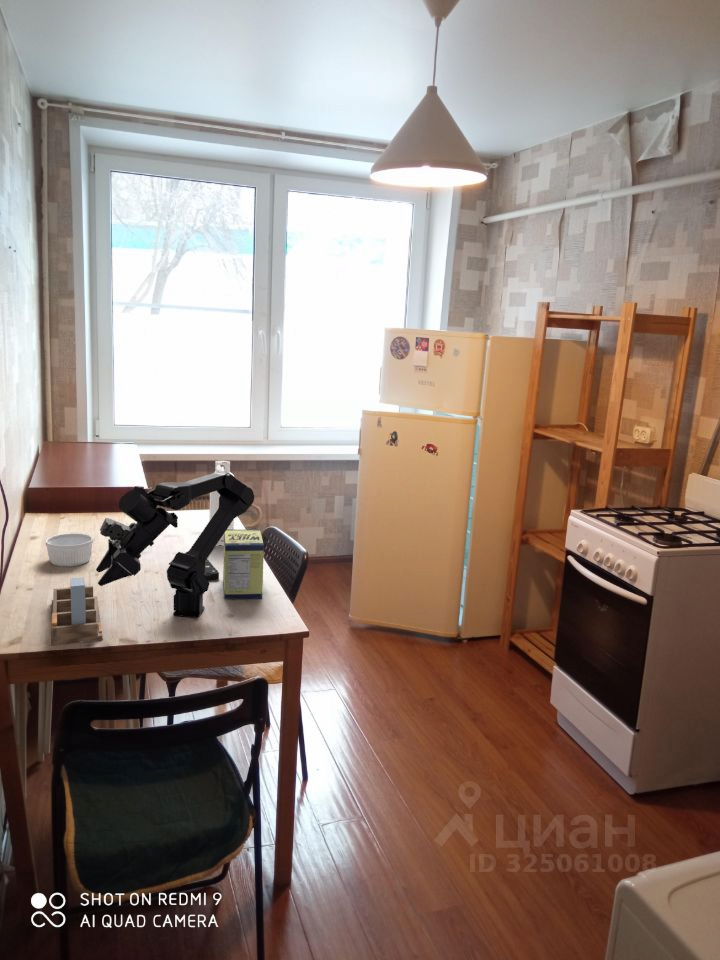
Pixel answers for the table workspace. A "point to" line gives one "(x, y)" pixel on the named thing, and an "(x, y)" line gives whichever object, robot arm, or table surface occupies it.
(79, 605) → the blanking panel
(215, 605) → the table surface
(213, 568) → the disk drive
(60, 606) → the rack
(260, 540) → the protein box
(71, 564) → the ramekin
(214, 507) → the bottle
